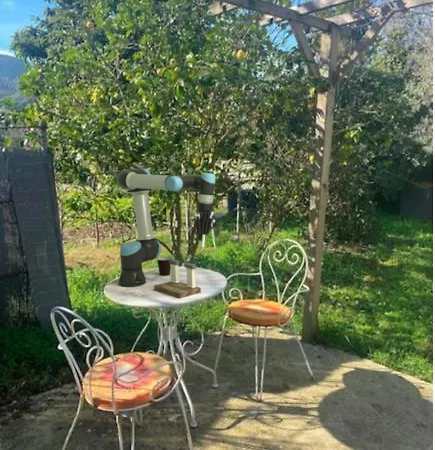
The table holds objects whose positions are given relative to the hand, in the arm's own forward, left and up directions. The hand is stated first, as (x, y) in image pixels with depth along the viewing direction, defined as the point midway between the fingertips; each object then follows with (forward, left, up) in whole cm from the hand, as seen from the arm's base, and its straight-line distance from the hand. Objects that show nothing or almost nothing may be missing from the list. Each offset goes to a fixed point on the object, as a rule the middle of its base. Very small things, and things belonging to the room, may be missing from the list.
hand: (201, 246), depth 236 cm
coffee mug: (-28, +30, -23) cm, 47 cm away
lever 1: (-15, +2, -20) cm, 25 cm away
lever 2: (-5, -7, -20) cm, 22 cm away
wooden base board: (-13, -6, -23) cm, 27 cm away
